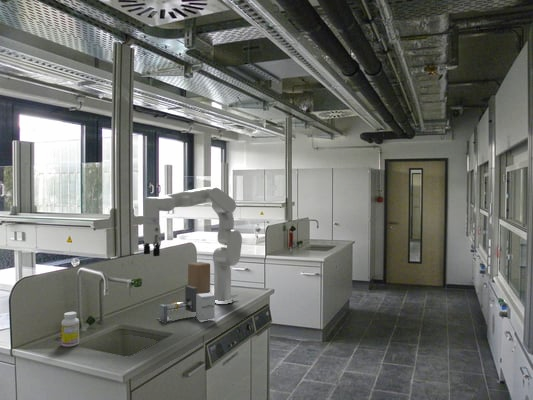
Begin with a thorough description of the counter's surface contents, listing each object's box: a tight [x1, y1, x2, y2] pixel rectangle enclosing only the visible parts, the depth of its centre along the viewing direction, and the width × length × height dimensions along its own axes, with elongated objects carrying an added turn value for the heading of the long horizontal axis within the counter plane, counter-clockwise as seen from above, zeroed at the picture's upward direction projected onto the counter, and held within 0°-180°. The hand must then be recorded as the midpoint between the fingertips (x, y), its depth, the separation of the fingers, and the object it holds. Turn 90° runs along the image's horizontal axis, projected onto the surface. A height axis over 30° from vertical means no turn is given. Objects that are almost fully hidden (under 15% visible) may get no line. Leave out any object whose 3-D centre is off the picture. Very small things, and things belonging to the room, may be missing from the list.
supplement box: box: [195, 292, 216, 320], centre depth 216 cm, size 7×7×13 cm
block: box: [187, 261, 211, 294], centre depth 267 cm, size 10×10×20 cm
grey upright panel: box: [184, 285, 197, 312], centre depth 224 cm, size 2×7×12 cm, turn 41°
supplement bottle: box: [60, 311, 80, 348], centre depth 179 cm, size 7×7×13 cm
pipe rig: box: [156, 300, 192, 323], centre depth 220 cm, size 22×8×8 cm, turn 131°
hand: (151, 255), depth 222 cm, fingers open, 9 cm apart
